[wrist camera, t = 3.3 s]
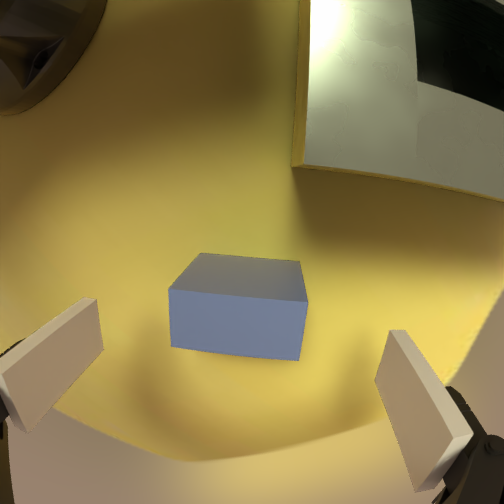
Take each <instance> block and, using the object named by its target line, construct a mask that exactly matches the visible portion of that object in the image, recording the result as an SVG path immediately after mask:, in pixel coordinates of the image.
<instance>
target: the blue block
mask: <svg viewBox="0 0 504 504" xmlns="http://www.w3.org/2000/svg"><path fill="white" fill-rule="evenodd" d="M168 291H169V316H170V335H171V347H177V348H183V349H190V350H197V351H204V352H212V353H220V354H228V355H237V356H246V357H256V358H267V359H280V360H294V361H299V357H300V351H301V345H302V339H303V333H304V327H305V320H306V314H307V307H308V299H307V294H306V289H305V285H304V280H303V275H302V271H301V266H300V262H299V261H289V260H277V259H265V258H254V257H242V256H231V255H219V254H208V253H200V254H199V255H198V256H197V257H196V258H195V259H194V260H193V262H192V263H191V264H190V265H189V266H188V267H187V268H186V269H185V270H184V272H183V273H182V274H181V275H180V276H179V277H178V278H177V279H176V281H175V282H174V283H173V284H172V285H171V286H170V287H169V289H168Z"/></svg>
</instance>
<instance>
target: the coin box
mask: <svg viewBox="0 0 504 504" xmlns="http://www.w3.org/2000/svg"><path fill="white" fill-rule="evenodd" d="M291 167H299V168H309V169H318V170H327V171H336V172H344V173H351V174H359V175H366V176H373V177H380V178H386V179H392V180H398V181H404V182H410V183H416V184H421V185H427V186H432V187H437V188H442V189H447V190H452V191H456V192H461V193H466V194H470V195H474V196H479V197H483V198H487V199H491V200H495V201H499V202H503V203H504V0H300V4H299V35H298V59H297V80H296V98H295V115H294V131H293V145H292V159H291Z"/></svg>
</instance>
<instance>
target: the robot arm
mask: <svg viewBox="0 0 504 504" xmlns="http://www.w3.org/2000/svg"><path fill="white" fill-rule="evenodd" d="M105 3H106V0H0V115H13V114H18V113H21V112H23V111H25V110H27V109H29V108H31V107H32V106H34V105H36V104H37V103H38V102H40V101H41V100H42V99H43V98H45V97H46V96H47V95H48V94H49V93H50V92H51V91H52V90H53V89H54V88H55V87H56V86H57V85H58V84H59V83H60V82H61V81H62V80H63V79H64V77H65V76H66V75H67V74H68V73H69V71H70V70H71V69H72V67H73V66H74V65H75V63H76V62H77V61H78V59H79V58H80V56H81V55H82V53H83V52H84V50H85V48H86V47H87V45H88V43H89V42H90V40H91V38H92V36H93V34H94V32H95V30H96V28H97V26H98V24H99V21H100V19H101V16H102V13H103V10H104V7H105ZM103 350H104V347H103V341H102V335H101V328H100V322H99V314H98V306H97V299H92V298H87V297H83V298H82V299H80V300H79V301H77V302H76V303H74V304H73V305H72V306H70V307H69V308H67V309H66V310H64V311H63V312H62V313H60V314H59V315H57V316H56V317H55V318H53V319H52V320H50V321H49V322H48V323H46V324H45V325H43V326H42V327H41V328H39V329H38V330H37V331H35V332H34V333H33V334H31V335H30V336H28V337H27V338H25V339H23V340H20V341H18V342H17V343H15V344H14V345H13V346H11V347H10V349H7V350H6V351H5V352H4V354H3V353H2V354H1V355H0V504H15V503H14V498H13V490H12V483H11V474H10V464H9V450H8V426H7V423H6V421H5V419H6V417H8V415H9V416H10V418H11V420H12V422H13V424H14V426H15V427H17V428H19V429H20V430H22V431H24V432H26V433H28V434H29V433H30V431H31V430H32V429H33V428H34V427H35V426H36V424H37V423H38V422H39V421H40V420H41V419H42V418H43V416H44V415H45V414H46V413H47V412H48V411H49V410H50V408H51V407H52V406H53V405H54V404H55V403H56V402H57V401H58V399H59V398H60V397H61V396H62V395H63V394H64V393H65V392H66V391H67V389H68V388H69V387H70V386H71V385H72V384H73V383H74V382H75V381H76V379H77V378H78V377H79V376H80V375H81V374H82V373H83V372H84V371H85V370H86V369H87V367H88V366H89V365H90V364H91V363H92V362H93V361H94V360H95V359H96V358H97V357H98V356H99V354H100V353H101V352H102V351H103ZM375 383H376V386H377V388H378V391H379V393H380V396H381V398H382V401H383V403H384V406H385V409H386V411H387V414H388V416H389V419H390V422H391V424H392V427H393V430H394V432H395V435H396V438H397V441H398V444H399V446H400V449H401V452H402V455H403V458H404V460H405V464H406V467H407V470H408V472H409V475H410V479H411V482H412V485H413V488H414V491H415V492H421V491H425V490H430V489H434V488H435V487H436V486H437V485H438V483H439V482H440V481H441V479H442V478H443V480H444V482H445V485H446V486H445V487H444V488H443V490H442V491H441V492H440V493H439V494H438V495H437V497H436V498H435V499H434V500H433V501H432V504H434V503H435V502H436V503H435V504H504V439H503V438H501V437H499V436H496V435H487V433H486V432H485V431H484V429H483V427H482V426H481V424H480V423H479V421H478V420H477V418H476V417H475V415H474V413H473V412H472V411H471V409H470V407H469V406H468V404H466V402H465V400H464V398H463V397H462V395H461V394H460V393H459V392H458V391H456V390H455V389H454V388H452V387H451V386H448V387H444V385H443V384H442V382H441V381H440V379H439V378H438V376H437V375H436V373H435V372H434V370H433V369H432V367H431V366H430V365H429V363H428V362H427V360H426V359H425V357H424V356H423V354H422V353H421V352H420V350H419V349H418V347H417V346H416V345H415V343H414V342H413V340H412V339H411V338H410V336H409V335H408V333H407V332H406V331H405V330H389V334H388V338H387V341H386V345H385V348H384V352H383V355H382V359H381V362H380V365H379V368H378V372H377V375H376V378H375Z"/></svg>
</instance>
